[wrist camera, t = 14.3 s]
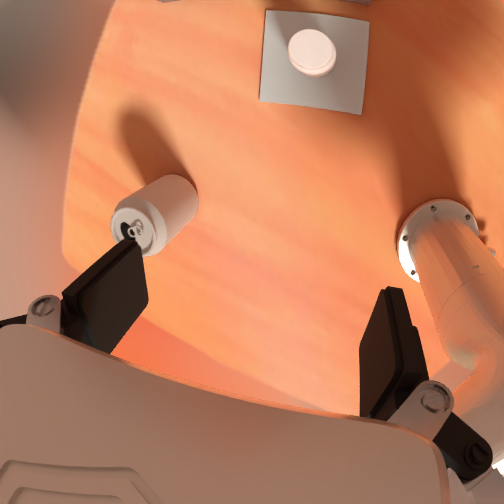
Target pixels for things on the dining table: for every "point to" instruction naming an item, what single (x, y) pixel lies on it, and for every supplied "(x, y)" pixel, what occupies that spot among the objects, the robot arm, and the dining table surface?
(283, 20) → the mat
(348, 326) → the dining table surface
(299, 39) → the pill bottle
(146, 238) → the can
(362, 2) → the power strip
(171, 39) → the dining table surface
